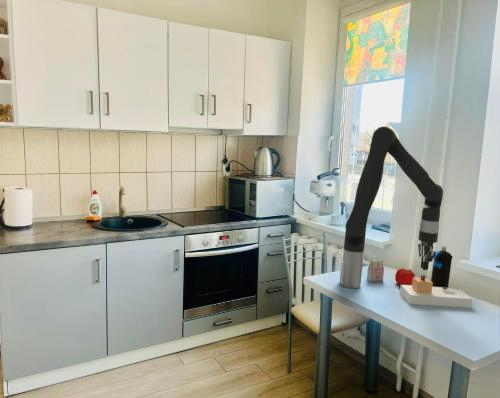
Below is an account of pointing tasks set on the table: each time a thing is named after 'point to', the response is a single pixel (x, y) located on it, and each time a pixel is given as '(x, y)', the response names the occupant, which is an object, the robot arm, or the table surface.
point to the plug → (422, 285)
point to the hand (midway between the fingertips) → (424, 268)
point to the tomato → (404, 276)
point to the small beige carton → (375, 271)
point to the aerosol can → (441, 268)
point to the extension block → (437, 297)
